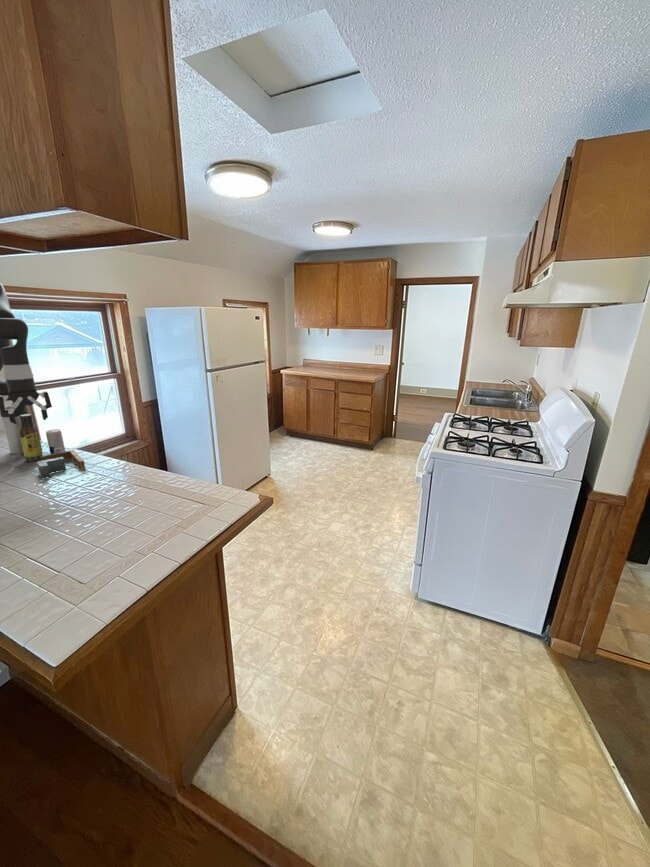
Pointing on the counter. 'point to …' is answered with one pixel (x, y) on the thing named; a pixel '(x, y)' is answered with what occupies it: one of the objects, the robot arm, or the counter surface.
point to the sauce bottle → (30, 439)
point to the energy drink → (55, 441)
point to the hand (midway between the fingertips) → (30, 421)
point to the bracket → (51, 466)
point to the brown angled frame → (67, 458)
